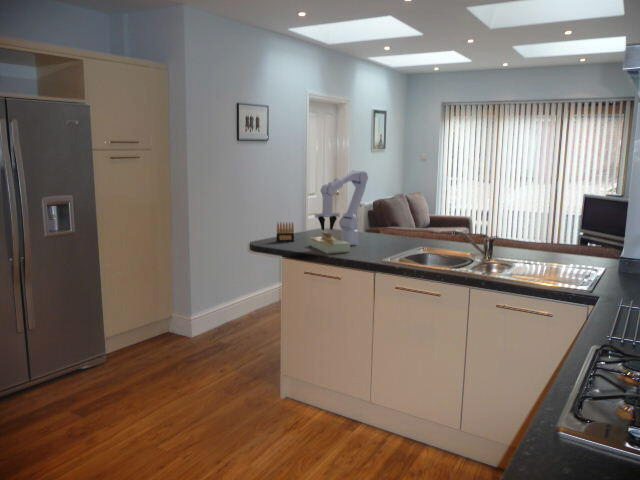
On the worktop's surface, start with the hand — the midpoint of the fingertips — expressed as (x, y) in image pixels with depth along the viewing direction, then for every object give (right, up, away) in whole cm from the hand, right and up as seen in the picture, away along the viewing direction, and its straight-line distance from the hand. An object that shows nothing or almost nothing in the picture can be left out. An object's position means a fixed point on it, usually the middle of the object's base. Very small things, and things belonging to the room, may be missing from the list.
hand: (327, 229), depth 296 cm
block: (+1, -8, -14) cm, 16 cm away
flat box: (+1, -11, -1) cm, 11 cm away
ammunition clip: (-25, -7, +18) cm, 32 cm away
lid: (0, -6, +1) cm, 6 cm away
